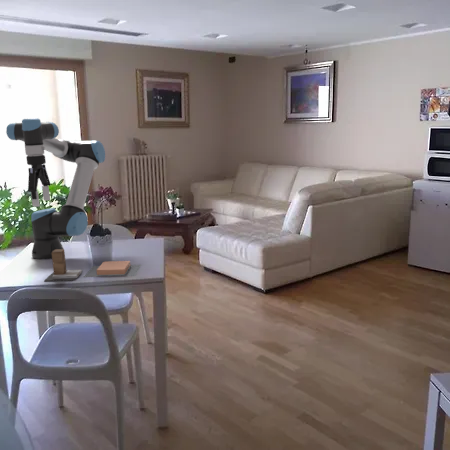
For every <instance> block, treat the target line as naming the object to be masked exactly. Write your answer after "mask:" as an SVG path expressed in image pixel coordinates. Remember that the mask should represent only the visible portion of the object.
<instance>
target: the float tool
mask: <svg viewBox="0 0 450 450" xmlns="http://www.w3.org/2000/svg"><path fill="white" fill-rule="evenodd" d="M51 259H52V261H51V262H52V268H53V272H54V275H53V276H52V277H53V279H60V278H75V279H77V278H78V277H79V276H80V275H81V274H82V273H83V270H82V269H67V262H66V255H65V249H57V250H54V251H52V258H51Z"/></svg>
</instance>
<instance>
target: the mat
mask: <svg viewBox="0 0 450 450" xmlns="http://www.w3.org/2000/svg"><path fill="white" fill-rule="evenodd" d="M130 265H131V266H130V268H129V269H128V271H127V273H126V274H125V275H102V276H97V269H98V268H99V267H100V265H93V266H92V267H91V268H90V269H89V270H88V271H87V273H85V275H84V276H83V278H100V277H101V278H104V277H109V278H111V277H135V276H136V275H137V273H138V272H139V270H140V268H141V266H142V264H130Z"/></svg>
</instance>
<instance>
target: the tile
mask: <svg viewBox="0 0 450 450" xmlns="http://www.w3.org/2000/svg"><path fill="white" fill-rule="evenodd" d="M131 265H132V264H131V260H118V261H117V260H114V261H113V260H112V261H103V262H102V263H101V264H100V265H99V266H100V267H99V268H98V269H97V276H102V275H125V274H126V273H127V271H128V269H129V268H130V266H131Z"/></svg>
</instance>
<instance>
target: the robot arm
mask: <svg viewBox="0 0 450 450" xmlns="http://www.w3.org/2000/svg"><path fill="white" fill-rule="evenodd" d="M5 133H6V135H7V137H8V139H9V140H11V141H21V142H24V151H25V152H24V153H25V155H26V163H27V165H29V166H31V167H29V168H28V184H27V185H28V186H27V192H28V193H30V195H31V196H30V197H31V202H32V203H31V204H32V207H35V208H37V207H40V206H41V205H40V198H39V191H38V185H39V184H38V183H39V181H40V183H41V184H42V186H41V189H42V197H43V201H51V195H50V188H49V186H50V187H51V182H50V181H51V180H50V178H49V174H48V171H47V168H46V156H45V152H48V153H51V154H52V155H53V156H54V157H55V158H59V159H61V160H63V161H66V162H70V163H73V164H74V163H75V164H76V165H77V166H76V169H75V173H74V176H73V180H72V182H71V185H70V189H69V193H68V196H67V199H66V203H65V204H63V205H62V206H61V207H60V208H61V209H60V211H57V210H56V208H54V207H51V208H45V209H40V210H37V211H33V212H32V213H31V215H30V216H31V220H30V221H31V226H32V227H31V228H32V235H33V247H32V249H31V256H32V258H33V259H37V260H48V259H52V251H54V250H57V249H64V247H63V245H62V242H61V240H60V236H61V237H63V236H65V237H79V236H81V235H83V234H84V233H85V231H87V228H88V224H89V222H88V220H89V219H88V215H87V213H86V211H85V209H84V208H85V205H86V204H85V203H86V201H87V200H86V199H87V196H88V193H89V190H90V186H91V182H92V179H93V175H94V172H95V170H97V169H98V168H99V164H102V163H104V162H105V160H106V150H105V147H104V145H103V143H102V142H101V141H99V140H93V139H91V140H64V139H61V138H57V137H58V136H59V133H60V130H59V126H58V125H57V123H54V122H52V121H46V122H45V121H44V122H41V119H40V118H39V117H38V118H23V119H22V120H21V122H15V123H14V122H13V123H9V124H8V125H7V126H6V131H5ZM64 250H65V249H64Z"/></svg>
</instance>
